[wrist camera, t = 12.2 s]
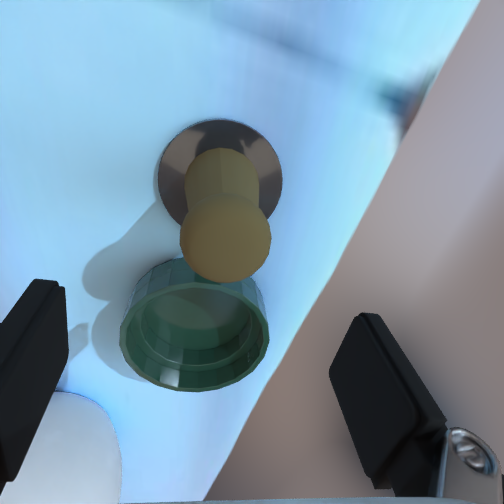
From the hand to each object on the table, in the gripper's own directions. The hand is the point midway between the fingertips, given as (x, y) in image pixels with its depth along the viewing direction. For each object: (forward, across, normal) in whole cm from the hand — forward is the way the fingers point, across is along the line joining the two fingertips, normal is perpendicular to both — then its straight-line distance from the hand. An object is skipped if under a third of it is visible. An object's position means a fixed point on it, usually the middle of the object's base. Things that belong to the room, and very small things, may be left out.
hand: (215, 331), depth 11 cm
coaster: (+19, -1, +2) cm, 19 cm away
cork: (+18, -1, +2) cm, 18 cm away
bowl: (+18, -1, +15) cm, 24 cm away
